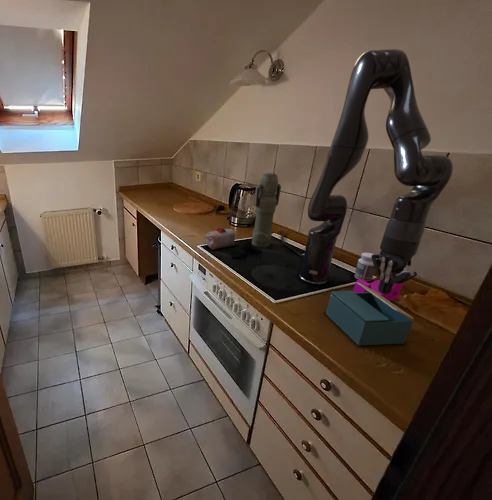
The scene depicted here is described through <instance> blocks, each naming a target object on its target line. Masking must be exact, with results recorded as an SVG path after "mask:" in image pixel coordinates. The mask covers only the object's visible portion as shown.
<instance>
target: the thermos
mask: <svg viewBox="0 0 492 500" xmlns="http://www.w3.org/2000/svg"><path fill="white" fill-rule="evenodd" d="M281 188H282V186H281V184H280V183H279V177H278V174H276V173H271V172H270V173H269V172H268V173H267V172H266V173H264V174H262V177H261V179H260V183H259V184H257V185H256V187H255V191H254V192H255V193H254V201H253V205H254V207H255V219H254V221H255V222H254V228H253V230H252V234H251V240H252V241H251V245H252V246H254V247H255V248H261V249H262V248H264V249H265V248H269V247H270V246H271V241H272V237H273V231H272V227H273V221H274V214H275V213H276V209H277V206H279V202H280V195H281V190H282V189H281Z"/></svg>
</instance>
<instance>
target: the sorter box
mask: <svg viewBox="0 0 492 500" xmlns="http://www.w3.org/2000/svg"><path fill="white" fill-rule="evenodd" d="M325 315H326V316H327V317H328V318H330V319H331V320H332V321H333V322H334V324H335V325H337V326H338V327H339V328H340V329H341V330H342V331H343V332H344V333H345V334H346V335H347V336H348V338H350V339H351V340H352V341H353V342H354V343H355V344H356V345H357V346H378V345H380V346H381V345H400V344H405V343H406V340H407V338H408V336H409V333H410V330H411V329H412V325H413V323H414V320H413V319H411V318H409V317H407V316H405V315H403V314H401V313H399V312H397V311H396V310H394V309H393V308H391V307H390V306H389V305H387V304H386V303H384V302H383V301H382V300H380V299H379V298H377V297H376V296H374V295H373V294H372V293H370V292H361V293H354V292H353V290H340V291H339V290H334V291H331V293H330V294H329V300H328V303H327V306H326V311H325Z"/></svg>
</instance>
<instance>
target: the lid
mask: <svg viewBox="0 0 492 500" xmlns="http://www.w3.org/2000/svg"><path fill="white" fill-rule="evenodd" d="M357 284H359V285H360V286H362V287H363V288H365V289H366V290H367V291H369V292H370V293H372V294H373V295H374V296H376V297H377V298H379V299H380V300H382V301H383V302H384V303H386V304H387V305H389V306H390V307H391V308H393V309H394V310H396V311H397V312H399V313H401V314H403V315H405V316H407V317H408V318H409V319H411V320H414V319H415V318H414V317H413V316H411V315H410V314H409V313H407V312H406V311H404V310H403V309H401V308H400V307H399V306H397V305H396V304H394V303H393V302H391V300H389V301H388V300H387V299H385V298H384V297H382V296H381V295H379V294H378V293H377V292H375V291H374V290H372V289H370V288H368V287H366V286H364V285H362V284H361V283H359V282H357Z"/></svg>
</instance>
